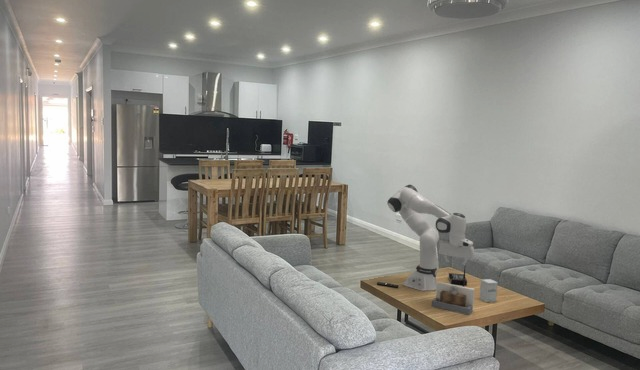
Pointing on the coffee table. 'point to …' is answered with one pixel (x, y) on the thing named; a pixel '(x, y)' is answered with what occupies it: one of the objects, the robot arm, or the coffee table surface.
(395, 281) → the coffee table surface
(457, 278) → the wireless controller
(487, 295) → the supplement box
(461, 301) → the walnut panel
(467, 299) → the board
